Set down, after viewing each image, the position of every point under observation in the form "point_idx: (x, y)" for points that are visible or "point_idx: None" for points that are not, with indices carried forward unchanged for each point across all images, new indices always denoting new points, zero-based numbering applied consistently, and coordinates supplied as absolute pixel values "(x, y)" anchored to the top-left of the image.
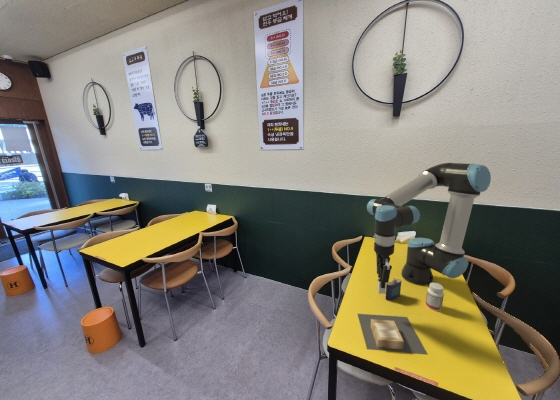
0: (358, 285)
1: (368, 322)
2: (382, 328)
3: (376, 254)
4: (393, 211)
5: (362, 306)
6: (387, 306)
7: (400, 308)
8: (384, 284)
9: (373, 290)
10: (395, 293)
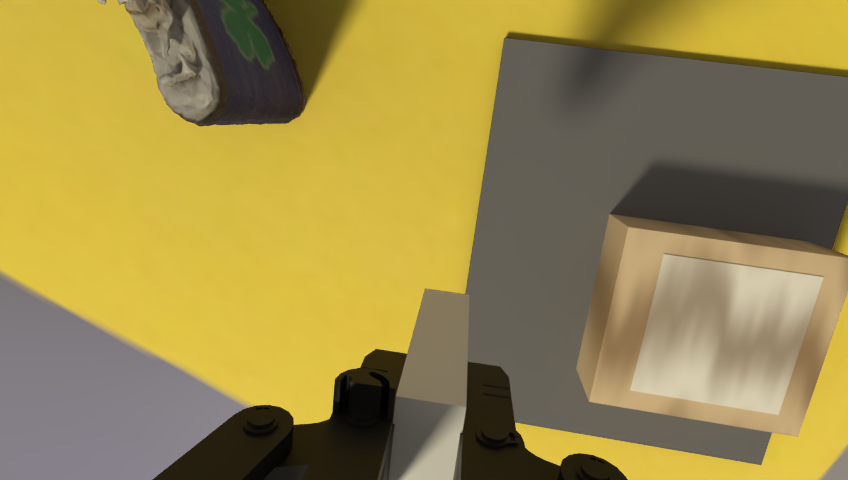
0: (108, 276)
1: (540, 368)
2: (699, 359)
3: None
4: None
5: (365, 340)
6: (366, 142)
7: (392, 38)
8: (509, 421)
9: (165, 174)
10: (251, 21)
